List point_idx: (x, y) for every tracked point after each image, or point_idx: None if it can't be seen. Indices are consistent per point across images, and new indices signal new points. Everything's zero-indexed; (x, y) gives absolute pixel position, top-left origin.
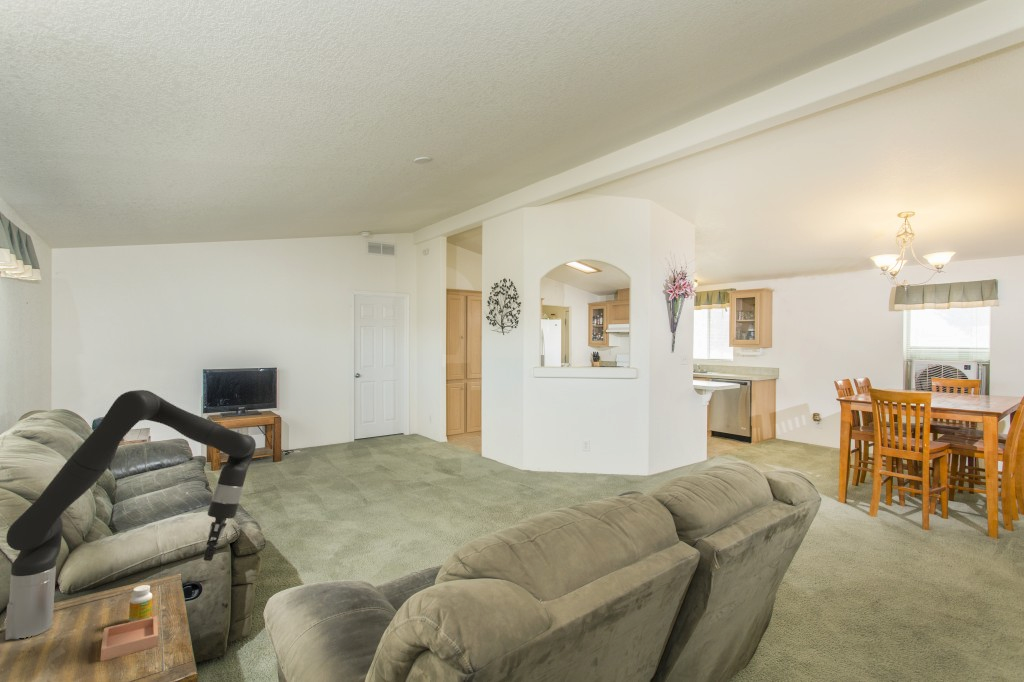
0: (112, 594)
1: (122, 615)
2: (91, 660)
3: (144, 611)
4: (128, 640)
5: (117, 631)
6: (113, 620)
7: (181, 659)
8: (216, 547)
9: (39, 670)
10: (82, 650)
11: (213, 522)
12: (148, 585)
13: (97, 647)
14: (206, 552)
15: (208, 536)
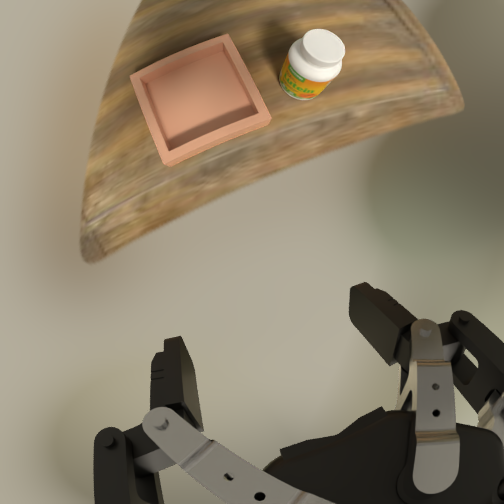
0: (409, 23)
1: None
2: None
3: (290, 82)
4: (196, 95)
5: (229, 59)
6: None
7: (116, 242)
8: (368, 340)
9: (140, 15)
10: (190, 33)
11: (427, 498)
12: (340, 57)
13: None
14: (166, 376)
15: (185, 470)
